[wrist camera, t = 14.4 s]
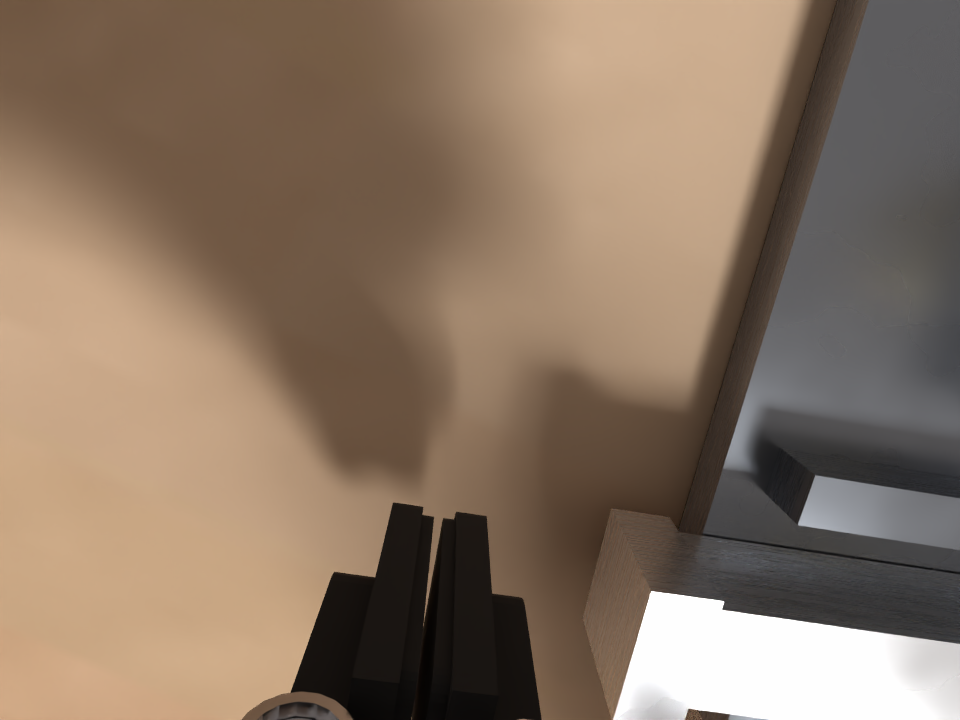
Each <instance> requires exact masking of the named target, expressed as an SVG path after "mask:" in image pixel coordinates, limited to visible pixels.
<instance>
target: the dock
mask: <svg viewBox="0 0 960 720" xmlns="http://www.w3.org/2000/svg"><path fill="white" fill-rule="evenodd" d="M678 531H679V532H682V533H688V534H695V535H701V536H708V537H715V538H721V539H728V540H735V541H741V542H748V543H755V544H761V545H768V546H774V547H781V548H788V549H794V550H801V551H808V552H814V553H821V554H828V555H834V556H841V557H847V558H854V559H861V560H867V561H874V562H881V563H887V564H894V565H901V566H907V567H914V568H920V569H927V570H934V571H940V572H947V573H954V574H960V0H837V4H836V7H835V10H834V14H833V17H832V20H831V24H830V27H829V30H828V34H827V37H826V40H825V44H824V47H823V50H822V53H821V57H820V60H819V63H818V67H817V70H816V73H815V77H814V80H813V83H812V87H811V90H810V93H809V97H808V100H807V103H806V107H805V110H804V113H803V117H802V120H801V123H800V127H799V130H798V133H797V137H796V140H795V143H794V147H793V150H792V153H791V157H790V160H789V163H788V167H787V170H786V173H785V177H784V180H783V183H782V187H781V190H780V193H779V197H778V200H777V203H776V207H775V210H774V213H773V217H772V220H771V223H770V227H769V230H768V233H767V237H766V240H765V243H764V247H763V250H762V253H761V257H760V260H759V263H758V267H757V270H756V273H755V277H754V280H753V283H752V287H751V290H750V293H749V297H748V300H747V303H746V307H745V310H744V313H743V317H742V320H741V323H740V327H739V330H738V333H737V337H736V340H735V343H734V347H733V350H732V353H731V357H730V360H729V363H728V367H727V370H726V373H725V377H724V380H723V383H722V387H721V390H720V393H719V397H718V400H717V403H716V407H715V410H714V413H713V417H712V420H711V423H710V427H709V430H708V433H707V437H706V440H705V443H704V447H703V450H702V453H701V457H700V460H699V463H698V467H697V470H696V473H695V477H694V480H693V483H692V487H691V490H690V493H689V497H688V500H687V503H686V507H685V510H684V513H683V517H682V520H681V523H680V527H679V530H678ZM698 711H699V713H700V715H701V717H702V719H703V720H772V719H765V718H757V717H749V716H741V715H733V714H726V713H718V712H710V711H702V710H698Z"/></svg>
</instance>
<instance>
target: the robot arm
mask: <svg viewBox="0 0 960 720" xmlns="http://www.w3.org/2000/svg"><path fill="white" fill-rule="evenodd" d="M422 513H423V507H420V506H414V505H407V504H400V503H393V505H392V510H391V514H390V518H389V522H388V526H387V531H386V535H385V539H384V543H383V547H382V552H381V556H380V560H379V564H378V569H377V573H376V577H368V576H360V575H353V574H346V573H339V572H334V573H333V575H332V577H331V580H330V583H329V585H328V588H327V591H326V594H325V597H324V600H323V602H322V605H321V608H320V611H319V614H318V616H317V619H316V622H315V625H314V628H313V631H312V633H311V636H310V639H309V642H308V645H307V648H306V650H305V653H304V656H303V659H302V662H301V665H300V667H299V670H298V673H297V676H296V679H295V682H294V684H293V687H292V690H291V693H286V694H281V695H278V696H276V697H273V698H270V699H268V700H265V701H263V702H262V703H260V704H259V705H257V706H256V707H255V708H253V709H252V710H250V711H249V712H248V713H247V714H246V715H245V716H244V717H243V719H242V720H411V718H412V720H541V713H540V706H539V699H538V693H537V686H536V679H535V672H534V665H533V658H532V651H531V645H530V638H529V631H528V624H527V617H526V610H525V605H524V600H523V599H522V598H519V597H512V596H505V595H498V594H492V588H491V573H490V558H489V543H488V528H487V517H486V516H481V515H475V514H468V513H461V512H456V514H455V518H454V520H452V519H445V518H443V522H442V527H441V532H440V538H439V543H438V549H437V554H436V560H435V565H434V571H433V576H432V582H431V588H430V593H429V599H428V604H427V610H426V615H425V621H424V613H425V603H426V593H427V582H428V572H429V562H430V552H431V542H432V532H433V522H434V517H432V516H425V515H422ZM423 623H424V626H423Z"/></svg>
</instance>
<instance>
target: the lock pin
mask: <svg viewBox="0 0 960 720" xmlns="http://www.w3.org/2000/svg"><path fill="white" fill-rule="evenodd" d="M582 619H583V622H584V626H585V629H586V633H587V636H588V640H589V643H590V647H591V650H592V654H593V657H594V661H595V664H596V668H597V671H598V675H599V678H600V682H601V685H602V689H603V692H604V696H605V699H606V703H607V706H608V710H609V713H610V717H611V720H685V718H686V715H687V712H688V709H694V710H702V711H710V712H718V713H726V714H733V715H741V716H749V717H757V718H765V719H772V720H960V574H954V573H947V572H940V571H934V570H927V569H920V568H914V567H907V566H901V565H894V564H887V563H881V562H874V561H867V560H861V559H854V558H847V557H841V556H834V555H828V554H821V553H814V552H808V551H801V550H794V549H788V548H781V547H774V546H768V545H761V544H755V543H748V542H741V541H735V540H728V539H721V538H715V537H708V536H701V535H695V534H688V533H682V532H679V531H678V530H677V528H676V527H675V525H674V523H673V522H672V520H671V519H670V517H666V516H660V515H653V514H647V513H640V512H634V511H627V510H621V509H614V508H611V512H610V515H609V519H608V523H607V527H606V530H605V534H604V538H603V542H602V546H601V549H600V553H599V557H598V561H597V564H596V568H595V572H594V576H593V580H592V583H591V587H590V591H589V595H588V598H587V602H586V606H585V610H584V614H583V617H582Z"/></svg>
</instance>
